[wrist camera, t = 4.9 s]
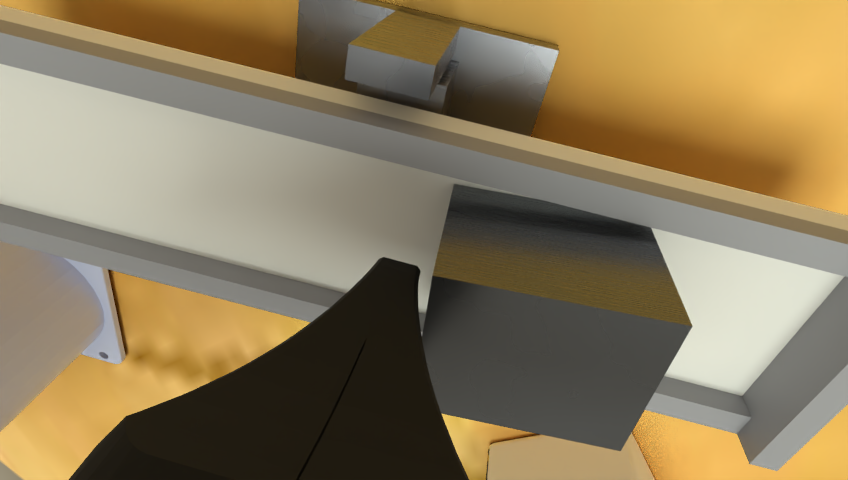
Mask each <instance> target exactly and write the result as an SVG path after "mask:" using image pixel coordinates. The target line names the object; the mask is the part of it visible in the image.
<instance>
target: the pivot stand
mask: <svg viewBox="0 0 848 480" xmlns="http://www.w3.org/2000/svg"><path fill="white" fill-rule="evenodd" d="M558 53H559V48H558V45H555V44H551V43H547V42H543V41H539V40H535V39H531V38H527V37H523V36H519V35H515V34H511V33H507V32H503V31H499V30H495V29H491V28H487V27H482V26H478V25H474V24H470V23H466V22H462V21H458V20H454V19H450V18H446V17H442V16H438V15H434V14H430V13H426V12H422V11H418V10H414V9H410V8H406V7H401V6H397V5H393V4H389V3H385V2H381V1H377V0H299V10H298V31H297V51H296V72H295V78H296V79H300V80H304V81H308V82H312V83H316V84H320V85H324V86H328V87H332V88H336V89H340V90H344V91H348V92H352V93H356V94H361V95H365V96H369V97H373V98H377V99H381V100H385V101H389V102H393V103H397V104H401V105H405V106H409V107H413V108H417V109H421V110H425V111H429V112H433V113H437V114H441V115H445V116H449V117H453V118H457V119H461V120H465V121H469V122H473V123H477V124H481V125H485V126H489V127H493V128H497V129H501V130H505V131H509V132H513V133H517V134H521V135H525V136H529V137H530V136H531V133H532V130H533V127H534V124H535V121H536V118H537V115H538V112H539V109H540V107H541V104H542V101H543V98H544V95H545V92H546V89H547V86H548V83H549V80H550V77H551V74H552V71H553V68H554V65H555V62H556V59H557V56H558Z"/></svg>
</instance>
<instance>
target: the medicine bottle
mask: <svg viewBox="0 0 848 480" xmlns="http://www.w3.org/2000/svg"><path fill="white" fill-rule="evenodd" d="M486 480H655V479H654V477H653V475H652V473H651V471H650V469H649V467H648V465H647V463H646V460H645V458H644V456H643V454H642V452H641V450H640V448H639V446H638V444H637V442H636V440H635V438H634V436H633V434H632V433H631V434H630V436H629V438H628V440H627V441H626V443H625V445H624V446H623V448H622V450H621V451H617V450H612V449H607V448H602V447H598V446H593V445H588V444H584V443H579V442H574V441H569V440H565V439H560V438H555V437H551V436H546V435H536V436H531V437H525V438H519V439H514V440H508V441H502V442H497V443H493V444H491V445H490V447H489V449H488V461H487V473H486Z"/></svg>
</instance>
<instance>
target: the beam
mask: <svg viewBox="0 0 848 480" xmlns="http://www.w3.org/2000/svg"><path fill="white" fill-rule="evenodd" d="M454 184H457V185H463V186H468V187H474V188H479V189H485V190H490V191H495V192H501V193H506V194H512V195H517V196H523V197H528V198H534V199H539V200H544V201H548V202H551V203H555V204H559V205H563V206H567V207H571V208H575V209H579V210H583V211H587V212H591V213H595V214H599V215H603V216H607V217H611V218H615V219H619V220H623V221H627V222H631V223H635V224H639V225H643V226H647V227H651V229H652V231H653V234H654V236H655V238H656V241H657V243H658V245H659V248H660V250H661V253H662V255H663V257H664V260H665V262H666V264H667V267H668V269H669V272H670V274H671V276H672V279H673V281H674V283H675V286H676V288H677V291H678V293H679V295H680V298H681V300H682V302H683V305H684V307H685V309H686V312H687V314H688V317H689V319H690V321H691V324H692V328H691V330H690V332H689V333H688V335H687V337H686V339H685V340H684V342H683V344H682V346H681V347H680V349H679V351H678V353H677V354H676V356H675V358H674V359H673V361H672V363H671V365H670V366H669V368H668V370H667V372H666V373H665V375H664V377H663V379H662V380H661V382H660V384H659V386H658V387H657V389H656V391H655V393H654V394H653V396H652V398H651V400H650V401H649V403H648V405H647V406H646V408H645V410H648V411H652V412H656V413H659V414H663V415H667V416H671V417H675V418H678V419H682V420H686V421H690V422H694V423H698V424H701V425H705V426H709V427H713V428H717V429H721V430H724V431H728V432H732V433H736V434H737V435H738V437H739V439H740V442H741V444H742V447H743V449H744V452H745V454H746V456H747V459H748V461H749V464H752V465H756V466H760V467H764V468H768V469H771V470H775V471H778V470H779V469H780V468H781V467H782V466H783V465H784V464H785V463H786V462H787V461H788V460H789V459H790V458H791V457H792V456H793V455H794V454H796V453H797V452H798V451H799V450H800V449H801V448H802V447H803V446H804V445H805V444H806V443H807V442H808V441H809V440H810V439H811V438H812V437H814V436H815V435H816V434H817V433H818V432H819V431H820V430H821V429H822V428H823V427H824V426H825V425H826V424H827V423H828V422H829V421H830V420H832V419H833V418H834V417H835V416H836V415H837V414H838V413H839V412H840V411H841V410H842V409H843V408H844V407H845V406H846V405H847V404H848V216H847V215H843V214H839V213H835V212H831V211H827V210H823V209H819V208H815V207H811V206H807V205H803V204H799V203H795V202H791V201H787V200H783V199H779V198H775V197H771V196H767V195H763V194H759V193H755V192H751V191H747V190H743V189H739V188H735V187H731V186H727V185H723V184H719V183H715V182H711V181H706V180H702V179H698V178H694V177H690V176H686V175H682V174H678V173H674V172H670V171H666V170H662V169H658V168H654V167H650V166H646V165H642V164H638V163H634V162H630V161H626V160H622V159H618V158H614V157H610V156H606V155H602V154H598V153H594V152H590V151H586V150H582V149H578V148H574V147H570V146H566V145H562V144H558V143H554V142H550V141H546V140H542V139H538V138H533V137H529V136H525V135H521V134H517V133H513V132H509V131H505V130H501V129H497V128H493V127H489V126H485V125H481V124H477V123H473V122H469V121H465V120H461V119H457V118H453V117H449V116H445V115H441V114H437V113H433V112H429V111H425V110H421V109H417V108H413V107H409V106H405V105H401V104H397V103H393V102H389V101H385V100H381V99H377V98H373V97H369V96H365V95H361V94H356V93H352V92H348V91H344V90H340V89H336V88H332V87H328V86H324V85H320V84H316V83H312V82H308V81H304V80H300V79H296V78H292V77H288V76H284V75H280V74H276V73H272V72H268V71H264V70H260V69H256V68H252V67H248V66H244V65H240V64H236V63H232V62H228V61H224V60H220V59H216V58H212V57H208V56H204V55H200V54H196V53H192V52H188V51H183V50H179V49H175V48H171V47H167V46H163V45H159V44H155V43H151V42H147V41H143V40H139V39H135V38H131V37H127V36H123V35H119V34H115V33H111V32H107V31H103V30H99V29H95V28H91V27H87V26H83V25H79V24H75V23H71V22H67V21H63V20H59V19H55V18H51V17H47V16H43V15H39V14H35V13H31V12H27V11H23V10H19V9H15V8H10V7H6V6H2V5H0V241H2V242H6V243H9V244H13V245H17V246H21V247H25V248H29V249H32V250H36V251H40V252H44V253H48V254H51V255H55V256H59V257H63V258H67V259H71V260H74V261H78V262H82V263H86V264H90V265H94V266H97V267H101V268H105V269H109V270H113V271H116V272H120V273H124V274H128V275H132V276H136V277H139V278H143V279H147V280H151V281H155V282H159V283H162V284H166V285H170V286H174V287H178V288H181V289H185V290H189V291H193V292H197V293H201V294H204V295H208V296H212V297H216V298H220V299H224V300H227V301H231V302H235V303H239V304H243V305H246V306H250V307H254V308H258V309H262V310H266V311H269V312H273V313H277V314H281V315H285V316H289V317H292V318H296V319H300V320H304V321H308V322H312V321H314V320H315V319H316V318H317V317H319V316H320V315H321V314H322V313H324V312H325V311H326V310H327V309H329V308H330V307H331V306H332V305H333V304H335V303H336V302H337V301H338V300H339V299H340V298H341V297H342V296H344V295H345V294H346V293H347V292H348V291H349V290H350V289H351V288H352V287H353V286H354V285H355V284H356V283H357V282H358V281H359V280H360V279H361V278H362V277H363V276H364V275H365V274H366V273H367V272H368V271H369V270H370V269H371V268H372V267H373V265H374V264H375V263H376V262H377V260H378V259H380V258H382V257H386V258H390V259H393V260H397V261H401V262H405V263H409V264H412V265H416V266H418V268H419V269H420V271H421V272H420V276H419V282H418V309H419V319H420V328H421V336H422V334H423V328H424V322H425V316H426V310H427V304H428V298H429V293H430V287H431V281H432V275H433V271H434V266H435V262H436V258H437V254H438V249H439V245H440V241H441V237H442V232H443V228H444V224H445V220H446V215H447V211H448V207H449V203H450V198H451V194H452V190H453V186H454Z"/></svg>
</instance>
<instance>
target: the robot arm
mask: <svg viewBox="0 0 848 480" xmlns="http://www.w3.org/2000/svg"><path fill="white" fill-rule="evenodd" d="M420 272H421V271H420V269H419V268H418V266H416V265H412V264H409V263H405V262H401V261H397V260H393V259H390V258H386V257H382V258H380V259H378V260H377V262H376V263H375V264H374V265H373V267H372V268H371V269H370V270H369V271H368V272H367V273H366V274H365V275H364V276H363V277H362V278H361V279H360V280H359V281H358V282H357V283H356V284H355V285H354V286H353V287H352V288H351V289H350V290H349V291H348V292H347V293H346V294H345V295H344V296H342V297H341V298H340V299H339V300H338V301H337V302H336V303H335V304H333V305H332V306H331V307H330V308H329V309H327V310H326V311H325V312H324V313H322V314H321V315H320V316H319V317H317V318H316V319H315V320H314V321H312V322H311V323H310V324H308V325H307V326H306V327H304V328H303V329H302V330H300V331H299V332H297V333H296V334H295V335H293V336H292V337H290V338H289V339H287V340H286V341H284V342H283V343H281V344H280V345H278V346H276V347H275V348H273V349H272V350H270V351H268V352H267V353H265V354H263V355H261V356H260V357H258V358H256V359H255V360H253V361H251V362H249V363H248V364H246V365H244V366H242V367H240V368H238V369H237V370H235V371H233V372H231V373H229V374H227V375H224V376H222V377H220V378H218V379H216V380H214V381H212V382H210V383H208V384H205V385H203V386H201V387H199V388H197V389H195V390H193V391H190V392H188V393H186V394H183V395H181V396H179V397H176V398H173V399H171V400H168V401H166V402H163V403H160V404H158V405H155V406H153V407H150V408H148V409H145V410H142V411H140V412H137V413H134V414H131V415H128V416H126V417H125V418H124V419H123V420H122V421H121V422H120V423H119V424H118V425H117V426H116V427H115V428H114V429H113V430H112V431H111V432H110V433H109V434H108V435H107V436H106V437H105V438H104V439H103V440H102V441H101V442H100V443H99V444H98V445H97V446H96V447H95V448H94V449H93V451H92V452H91V453H90V454H89V456H88V457H87V458H86V459H85V460H84V462H83V463H82V464H81V465H80V467H79V468H78V469H77V470H76V471H75V473H74V474H73V475H72V476H71V478H70V479H69V480H469V479H468V476H467V474H466V472H465V470H464V468H463V466H462V463H461V461H460V459H459V457H458V455H457V453H456V450H455V448H454V445H453V443H452V440H451V437H450V435H449V432H448V430H447V427H446V425H445V422H444V420H443V417H442V414H441V411H440V408H439V405H438V402H437V399H436V396H435V393H434V389H433V386H432V382H431V379H430V375H429V371H428V367H427V362H426V357H425V352H424V347H423V342H422V336H421V328H420V319H419V309H418V282H419V276H420ZM80 354H82V355H86V356H89V357H93V358H96V359H100V360H103V361H107V362H110V363H114V364H120V363H121V362H122V361H123V360H124V359H125V356H126V355H125V351H124V346H123V341H122V336H121V331H120V326H119V322H118V317H117V312H116V307H115V302H114V297H113V292H112V288H111V283H110V278H109V273H108V269H105V268H101V267H97V266H94V265H90V264H86V263H82V262H78V261H74V260H71V259H67V258H63V257H59V256H55V255H51V254H48V253H44V252H40V251H36V250H32V249H29V248H25V247H21V246H17V245H13V244H9V243H6V242H2V241H0V432H1V431H2V430H3V429H4V428H5V427H6V426H7V425H8V424H9V423H10V422H11V421H12V420H13V419H14V418H15V417H16V416H17V415H18V414H19V413H20V412H21V411H22V410H23V409H24V408H25V407H26V406H28V405H29V404H30V403H31V402H32V401H33V400H34V399H35V398H36V397H37V396H38V395H39V394H40V393H41V392H42V391H43V390H44V389H45V388H46V387H47V386H48V385H49V384H50V383H51V382H52V381H53V380H54V379H55V378H56V377H57V376H58V375H59V374H60V373H61V372H62V371H63V370H64V369H65V368H67V367H68V366H69V365H70V364H71V363H72V362H73V361H74V360H75V359H76V358H77V357H78V356H79V355H80Z"/></svg>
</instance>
